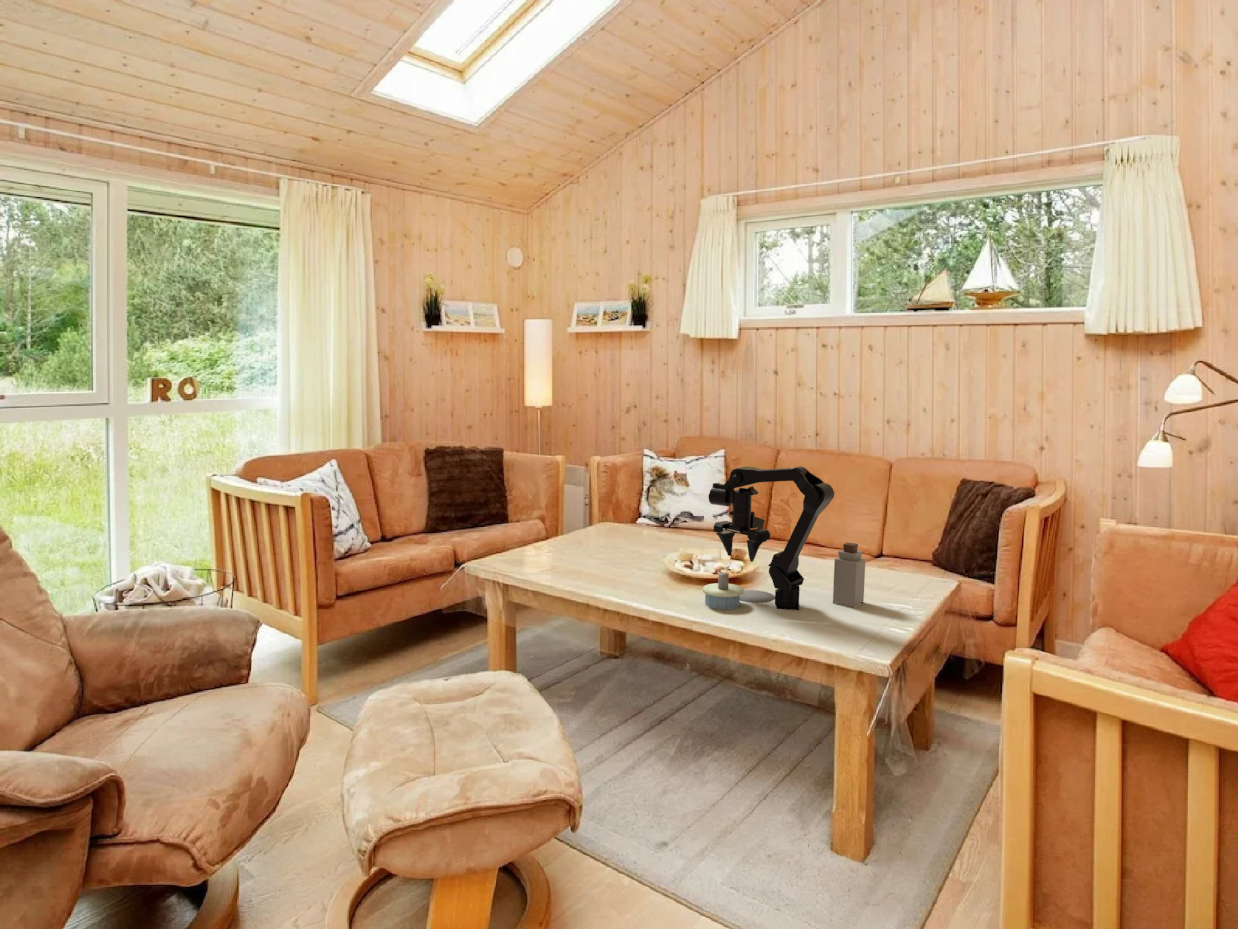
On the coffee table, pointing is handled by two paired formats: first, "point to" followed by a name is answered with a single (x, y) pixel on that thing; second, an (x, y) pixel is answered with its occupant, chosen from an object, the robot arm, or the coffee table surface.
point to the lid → (723, 587)
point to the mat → (756, 596)
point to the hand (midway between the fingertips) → (740, 558)
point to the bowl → (722, 602)
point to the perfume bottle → (849, 576)
